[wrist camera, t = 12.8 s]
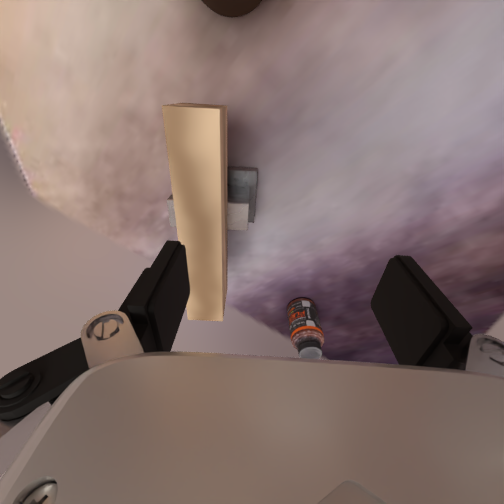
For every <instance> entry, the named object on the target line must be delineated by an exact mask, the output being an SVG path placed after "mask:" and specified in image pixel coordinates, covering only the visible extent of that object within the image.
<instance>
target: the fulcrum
mask: <svg viewBox="0 0 504 504" xmlns="http://www.w3.org/2000/svg"><path fill="white" fill-rule="evenodd" d="M256 184H257V168H246V167H228V166H227V229H228V230H247V228H248V222H252V223H254V216H255V200H256ZM167 205H168V212H169V219H170V226H171V227H177V225H176V217H175V209H174V201H173V193H172V195H171V196H170V197H169V198H168V199H167Z"/></svg>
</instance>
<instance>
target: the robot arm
mask: <svg viewBox="0 0 504 504" xmlns="http://www.w3.org/2000/svg"><path fill="white" fill-rule="evenodd" d="M189 296H190V282H189V274H188V265H187V256H186V248H185V245H181V242H180V241H166V243H165V244H164V246H163V248H162V249H161V251H160V253H159V254H158V256H157V258H156V259H155V261H154V262H153V264H152V266H151V267H150V268H146V269H145V270H144V271H143V272H142V274H141V276H140V277H139V279H138V280H137V282H136V283H135V285H134V286H133V288H132V290H131V291H130V293H129V294H128V296H127V297H126V299H125V300H124V302H123V304H122V305H121V307H120V308H119V310H118V311H106V312H103V313H100V314H98V315H96V316H94V317H93V318H91V319H90V320H89V321H87V323H86V324H85V325H84V326H83V328H82V330H81V338H79V339H77V340H75V341H72V342H70V343H68V344H66V345H64V346H62V347H60V348H58V349H56V350H54V351H52V352H50V353H48V354H46V355H44V356H42V357H40V358H38V359H36V360H33V361H31V362H29V363H27V364H25V365H23V366H21V367H19V368H17V369H15V370H13V371H11V372H10V373H8V374H7V375H5V376H4V377H2V378H1V379H0V477H1V475H2V474H3V473H4V472H5V471H6V470H7V471H6V472H5V474H4V475H3V477H2V478H1V480H0V504H504V342H502V341H501V340H499V339H497V338H494V337H492V336H489V335H484V334H476V335H474V336H472V335H471V333H470V332H469V331H470V330H471V329H472V326H471V325H470V324H469V323H468V322H467V321H466V319H465V318H464V317H463V316H462V315H461V314H460V313H459V311H458V310H457V309H456V308H455V307H454V306H453V304H452V303H451V302H450V301H449V300H448V299H447V297H446V296H445V295H444V294H443V293H442V292H441V291H440V289H439V288H438V287H437V286H436V285H435V284H434V282H433V281H432V280H431V279H430V278H429V277H428V275H427V274H426V273H425V272H424V271H423V270H422V269H421V267H420V266H419V265H418V264H417V263H416V262H415V260H414V259H413V258H412V257H411V256H401V255H396V256H394V257H393V258H391V259H390V260H389V262H388V264H387V266H386V269H385V271H384V273H383V275H382V278H381V280H380V282H379V284H378V286H377V289H376V291H375V293H374V295H373V298H372V300H371V308H372V310H373V312H374V314H375V316H376V318H377V320H378V322H379V324H380V326H381V329H382V331H383V333H384V335H385V337H386V339H387V341H388V343H389V345H390V347H391V349H392V351H393V353H394V355H395V357H396V359H397V361H398V363H399V365H396V364H382V363H367V362H353V361H338V360H322V359H306V358H291V357H273V356H257V355H239V354H223V353H201V352H170V351H171V348H172V345H173V342H174V339H175V336H176V333H177V331H178V328H179V325H180V322H181V319H182V316H183V313H184V310H185V308H186V305H187V302H188V299H189Z"/></svg>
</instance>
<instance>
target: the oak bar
mask: <svg viewBox="0 0 504 504" xmlns="http://www.w3.org/2000/svg"><path fill="white" fill-rule="evenodd" d="M162 111H163V119H164V128H165V136H166V144H167V152H168V160H169V168H170V176H171V185H172V193H173V201H174V209H175V217H176V225H177V233H178V241H180V242H181V245H185V248H186V256H187V265H188V274H189V282H190V296H189V299H188V302H187V305H186V307H187V314H188V320H209V321H223V316H224V309H225V301H226V294H227V106H224V105H208V104H191V103H178V104H170V105H163V106H162Z"/></svg>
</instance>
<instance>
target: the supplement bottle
mask: <svg viewBox="0 0 504 504" xmlns="http://www.w3.org/2000/svg"><path fill="white" fill-rule="evenodd" d="M287 313H288V317H287V318H288V320H289V328H290V334H291V341H292V345H293V346H294V347H295V348H296V349H297V350H298V352H299V357H300V358H306V359H319V358H320V357H321V355H322V350H321V346H322V345H323V343H324V336H323V332H322V328H321V325H320V321H319V317H318V314H317V310H316V307H315V304H314V303H313V302H312V301H311V300H309V299H306V298H298V299H295V300H293V301H292V302H290V303H289V305H288V307H287Z"/></svg>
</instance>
